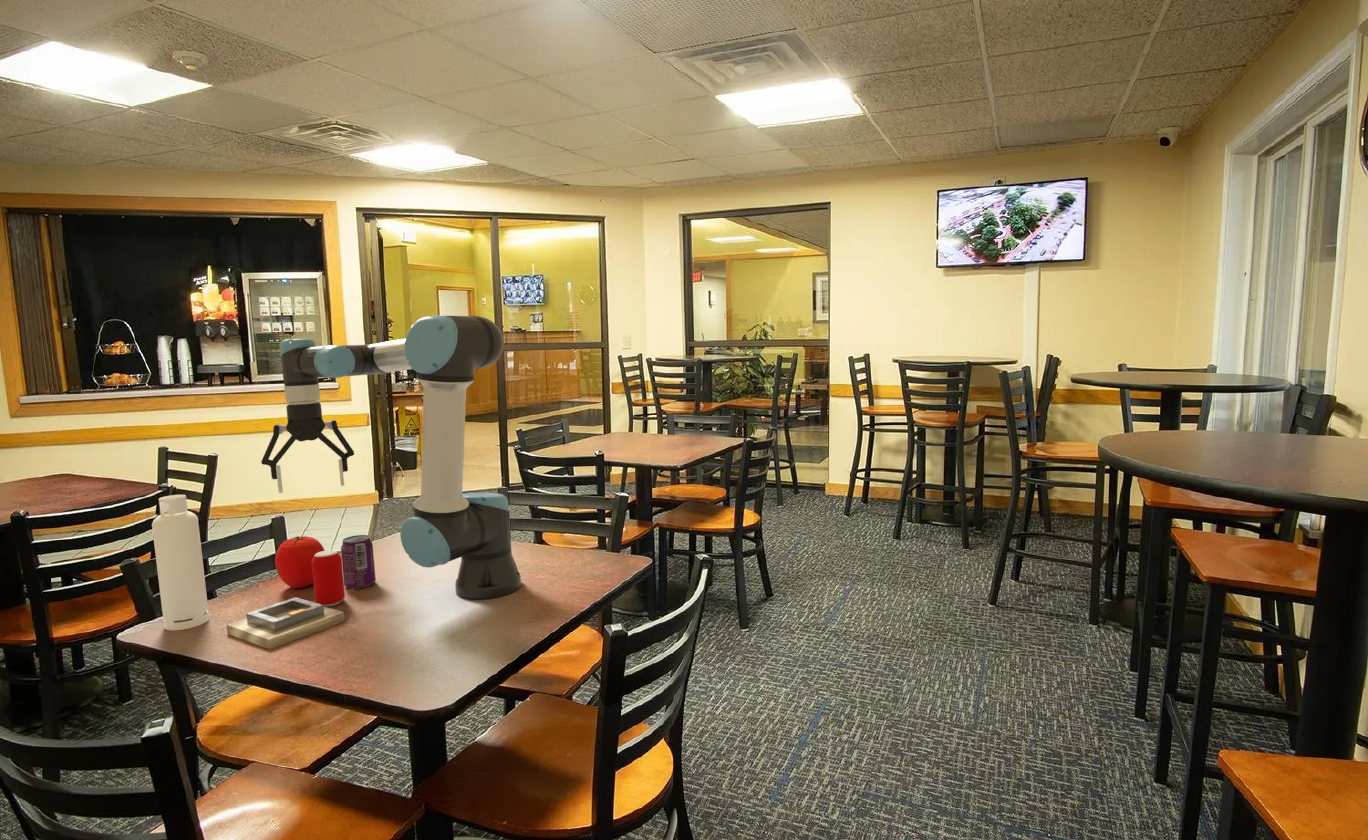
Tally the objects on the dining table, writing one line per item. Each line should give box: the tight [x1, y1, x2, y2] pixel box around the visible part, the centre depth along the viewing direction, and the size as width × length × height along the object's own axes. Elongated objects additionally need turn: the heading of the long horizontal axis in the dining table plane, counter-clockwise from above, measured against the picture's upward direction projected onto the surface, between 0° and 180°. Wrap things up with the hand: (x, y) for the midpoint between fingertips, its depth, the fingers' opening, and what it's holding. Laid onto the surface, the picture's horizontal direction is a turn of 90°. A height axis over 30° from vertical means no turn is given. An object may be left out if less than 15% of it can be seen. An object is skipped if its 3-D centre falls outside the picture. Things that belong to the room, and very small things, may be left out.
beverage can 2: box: [340, 534, 376, 590], centre depth 178 cm, size 7×7×12 cm
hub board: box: [226, 607, 345, 650], centre depth 153 cm, size 16×16×2 cm
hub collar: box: [246, 596, 324, 632], centre depth 153 cm, size 10×10×2 cm
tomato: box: [274, 535, 326, 589], centre depth 179 cm, size 11×11×13 cm
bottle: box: [151, 494, 210, 631], centre depth 157 cm, size 8×8×28 cm
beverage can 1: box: [312, 549, 346, 608], centre depth 166 cm, size 6×6×12 cm
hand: (312, 488), depth 179 cm, fingers open, 13 cm apart
